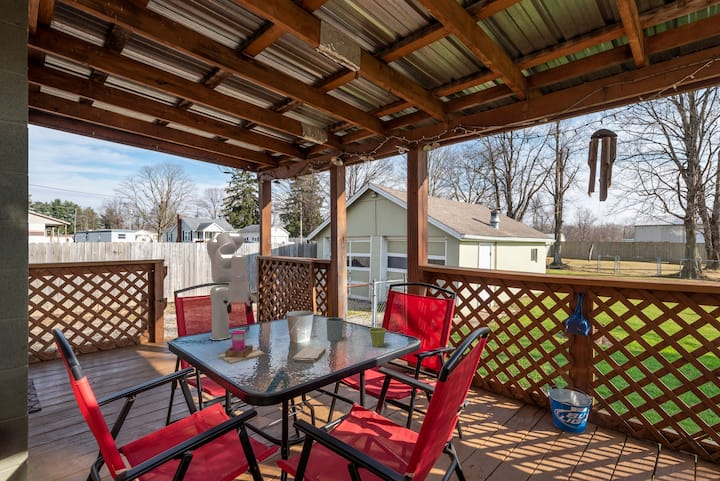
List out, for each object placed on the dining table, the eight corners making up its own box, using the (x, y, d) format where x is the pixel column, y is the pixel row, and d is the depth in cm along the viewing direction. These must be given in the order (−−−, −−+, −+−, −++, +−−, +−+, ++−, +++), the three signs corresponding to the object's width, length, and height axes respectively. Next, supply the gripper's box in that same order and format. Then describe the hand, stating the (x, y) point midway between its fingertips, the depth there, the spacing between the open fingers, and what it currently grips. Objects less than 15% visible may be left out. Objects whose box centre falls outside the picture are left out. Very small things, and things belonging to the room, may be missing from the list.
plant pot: (380, 349, 179) (380, 332, 179) (365, 346, 185) (365, 330, 185) (389, 345, 187) (389, 329, 187) (375, 342, 192) (375, 326, 193)
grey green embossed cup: (324, 338, 201) (323, 318, 201) (339, 336, 205) (339, 316, 205) (329, 342, 192) (329, 321, 192) (346, 340, 196) (346, 319, 196)
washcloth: (291, 363, 161) (291, 356, 161) (304, 351, 178) (304, 345, 178) (315, 364, 159) (315, 358, 159) (326, 352, 176) (326, 346, 176)
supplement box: (233, 352, 172) (233, 330, 173) (245, 351, 174) (245, 329, 174) (231, 356, 167) (231, 333, 167) (244, 355, 168) (244, 332, 168)
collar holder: (217, 356, 170) (217, 348, 170) (251, 348, 183) (250, 340, 183) (230, 364, 159) (230, 355, 159) (265, 355, 171) (265, 347, 171)
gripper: (218, 280, 167) (218, 314, 167) (253, 280, 167) (253, 315, 166) (225, 278, 174) (225, 311, 174) (258, 278, 174) (258, 311, 174)
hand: (239, 313), depth 170 cm, fingers open, 9 cm apart
